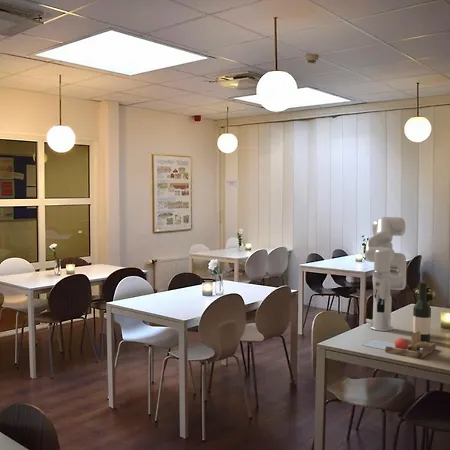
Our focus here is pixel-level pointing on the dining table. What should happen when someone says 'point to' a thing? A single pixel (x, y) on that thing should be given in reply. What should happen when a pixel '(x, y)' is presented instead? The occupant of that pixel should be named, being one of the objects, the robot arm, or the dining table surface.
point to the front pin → (418, 345)
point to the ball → (401, 343)
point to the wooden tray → (413, 354)
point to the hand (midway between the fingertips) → (380, 312)
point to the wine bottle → (422, 314)
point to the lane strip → (380, 344)
